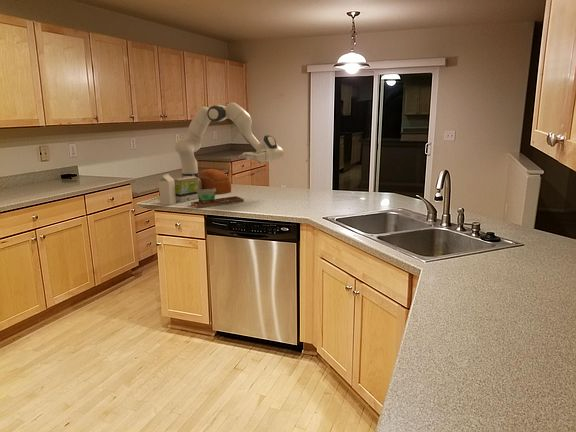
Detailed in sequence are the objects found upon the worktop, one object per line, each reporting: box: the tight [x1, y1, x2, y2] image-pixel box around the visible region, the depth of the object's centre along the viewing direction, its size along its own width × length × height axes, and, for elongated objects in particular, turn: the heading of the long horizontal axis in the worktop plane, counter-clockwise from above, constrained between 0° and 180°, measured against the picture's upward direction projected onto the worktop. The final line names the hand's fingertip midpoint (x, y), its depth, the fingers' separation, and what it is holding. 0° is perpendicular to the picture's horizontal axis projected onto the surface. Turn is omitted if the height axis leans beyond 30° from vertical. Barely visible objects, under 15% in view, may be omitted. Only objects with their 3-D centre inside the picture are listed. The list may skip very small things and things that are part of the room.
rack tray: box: [190, 195, 244, 209], centre depth 271 cm, size 11×31×2 cm, turn 123°
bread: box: [198, 168, 232, 195], centre depth 315 cm, size 14×33×16 cm, turn 36°
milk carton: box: [158, 173, 177, 206], centre depth 270 cm, size 7×7×19 cm
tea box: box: [172, 176, 199, 203], centre depth 283 cm, size 15×10×15 cm
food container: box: [196, 188, 216, 204], centre depth 267 cm, size 12×6×10 cm, turn 107°
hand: (242, 157), depth 275 cm, fingers open, 8 cm apart
